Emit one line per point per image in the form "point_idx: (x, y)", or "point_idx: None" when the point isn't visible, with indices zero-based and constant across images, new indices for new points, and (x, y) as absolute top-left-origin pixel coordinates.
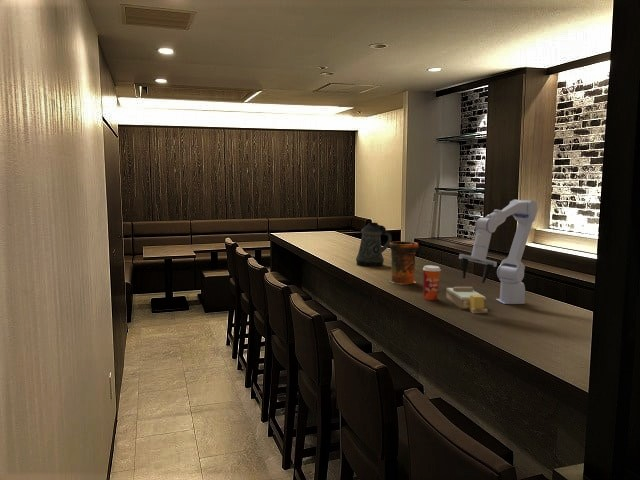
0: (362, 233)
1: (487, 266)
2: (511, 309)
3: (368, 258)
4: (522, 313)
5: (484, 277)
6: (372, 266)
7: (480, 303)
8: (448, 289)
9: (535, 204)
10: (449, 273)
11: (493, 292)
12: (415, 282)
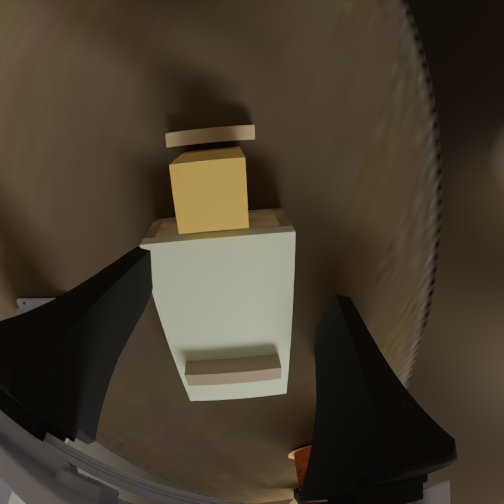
0: None
1: (23, 374)
2: (51, 221)
3: None
4: (26, 159)
5: (117, 276)
6: None
7: (197, 156)
8: (287, 379)
9: None
10: (194, 482)
11: (108, 409)
12: (291, 452)
